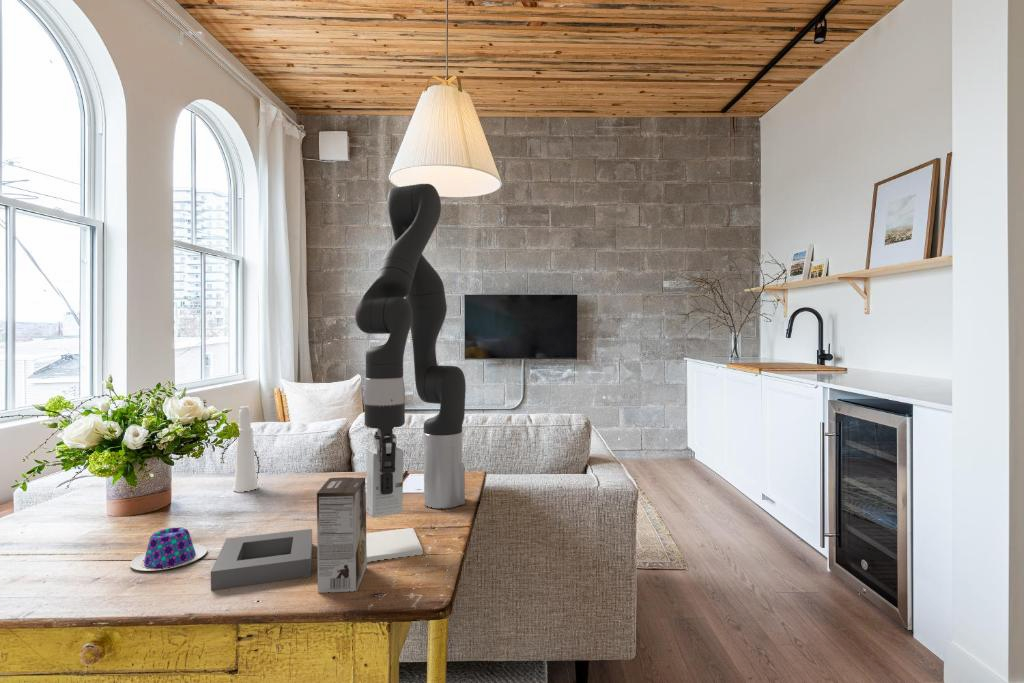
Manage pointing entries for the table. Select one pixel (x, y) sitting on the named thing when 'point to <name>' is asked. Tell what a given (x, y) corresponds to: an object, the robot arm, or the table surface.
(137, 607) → the table surface
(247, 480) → the cosmetic bottle
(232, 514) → the table surface
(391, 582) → the table surface
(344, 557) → the coffee box
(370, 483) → the skincare box
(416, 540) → the white mat
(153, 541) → the purple patterned hat
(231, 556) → the grey square frame
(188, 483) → the table surface
